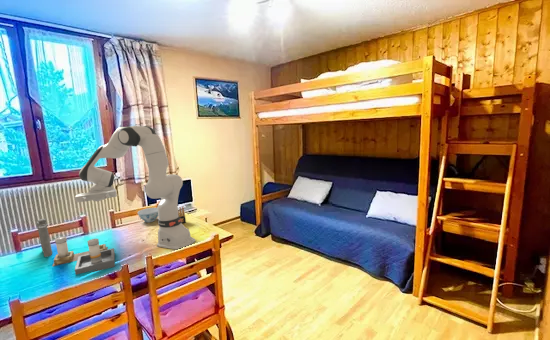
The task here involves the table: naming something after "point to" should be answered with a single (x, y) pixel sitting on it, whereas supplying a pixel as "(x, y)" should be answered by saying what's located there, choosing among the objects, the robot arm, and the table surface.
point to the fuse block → (74, 256)
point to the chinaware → (148, 214)
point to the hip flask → (44, 237)
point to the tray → (85, 263)
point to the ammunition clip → (182, 215)
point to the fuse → (62, 247)
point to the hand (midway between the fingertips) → (95, 198)
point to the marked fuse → (94, 251)
